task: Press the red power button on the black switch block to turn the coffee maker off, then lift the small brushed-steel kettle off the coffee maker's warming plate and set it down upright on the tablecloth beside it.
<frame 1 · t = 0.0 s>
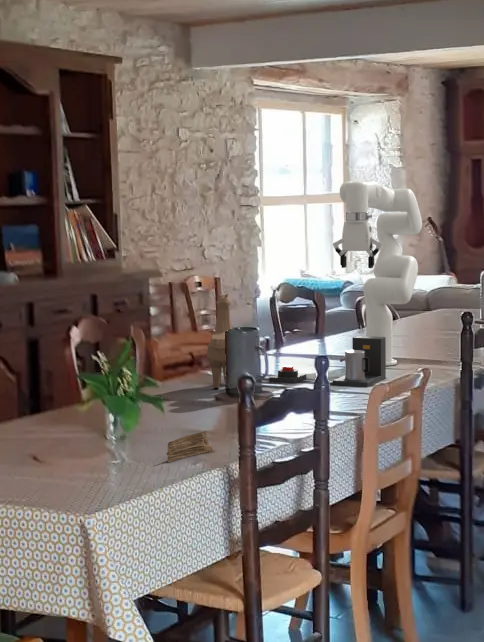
hand: (357, 267, 402), 37 cm above the table, tool pointing down, fingers open, 9 cm apart
toy: (223, 387, 384), on the table
switch block: (287, 380, 394), on the table
coffee maker: (358, 382, 388), on the table
kettle: (354, 378, 385), point 2 cm above the table, touching coffee maker
power button: (287, 368, 393), point 4 cm above the table, slide at 0.1 cm
wood plank: (189, 457, 284), on the table
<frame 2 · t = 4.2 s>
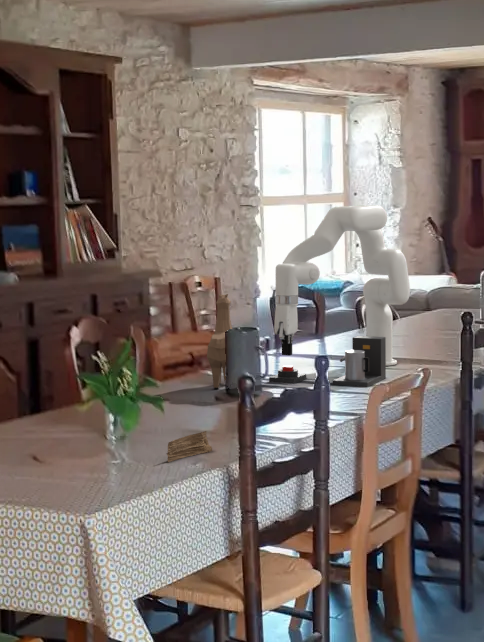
hand: (287, 354, 393), 9 cm above the table, tool pointing down, fingers closed
nothing on the table moved.
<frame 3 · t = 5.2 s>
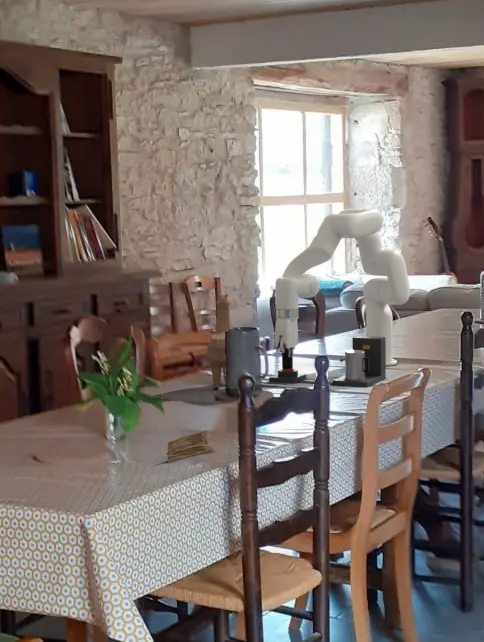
hand: (287, 368, 393), 4 cm above the table, tool pointing down, fingers closed
power button: (287, 370, 393), point 3 cm above the table, slide at -0.6 cm, touching gripper
everything else where it was.
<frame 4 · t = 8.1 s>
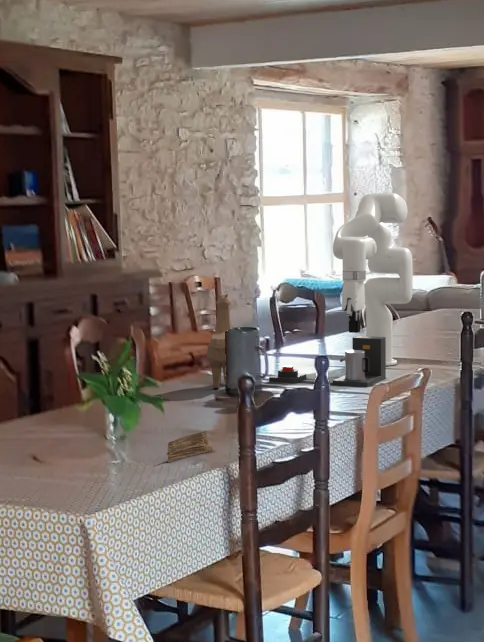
hand: (354, 332, 384), 17 cm above the table, tool pointing down, fingers closed
power button: (287, 368, 393), point 4 cm above the table, slide at 0.1 cm
everything else where it was.
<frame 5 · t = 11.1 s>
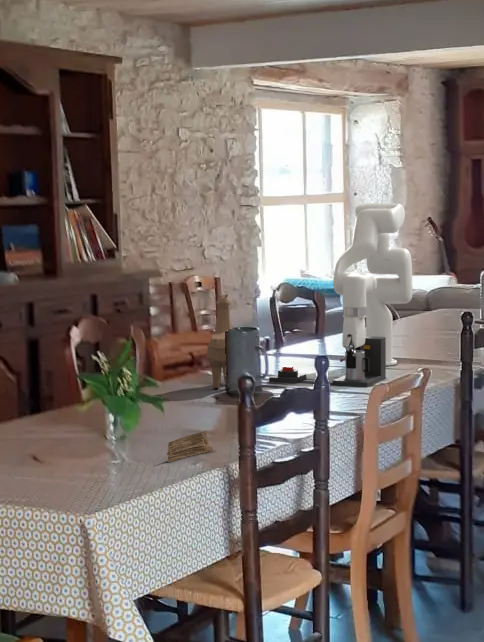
hand: (354, 366, 385), 6 cm above the table, tool pointing down, fingers closed on kettle, 6 cm apart
kettle: (354, 378, 385), point 2 cm above the table, touching coffee maker, gripper
everything else where it was.
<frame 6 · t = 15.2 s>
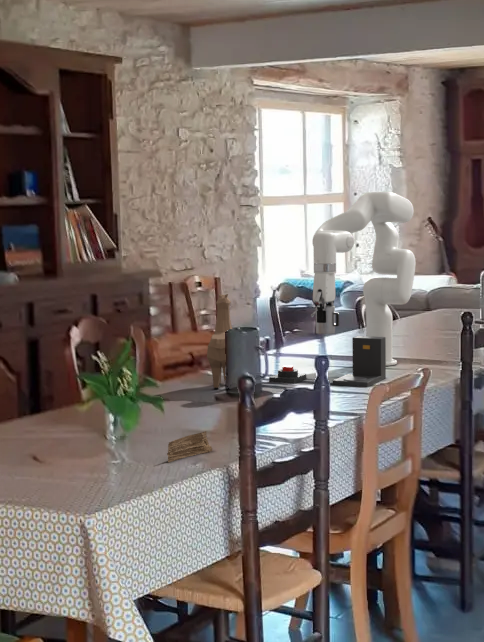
hand: (325, 321, 396), 19 cm above the table, tool pointing down, fingers closed on kettle, 6 cm apart
kettle: (325, 332, 396), point 15 cm above the table, touching gripper
everything else where it was.
when the fingers open (4 cm above the table, at t = 19.2 s): kettle stays where it is, on the table.
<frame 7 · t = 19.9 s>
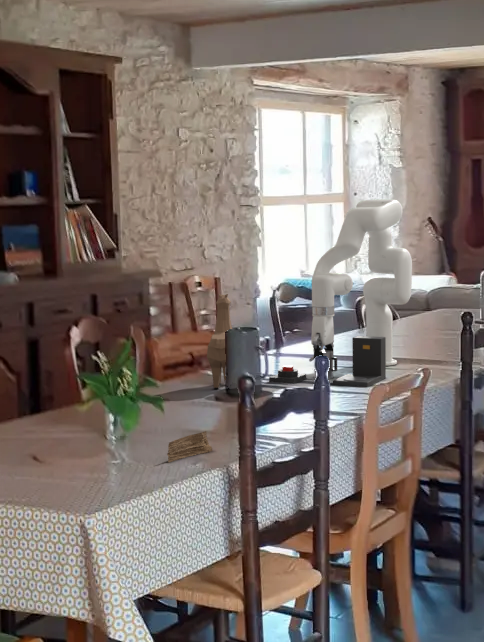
hand: (323, 361, 398), 5 cm above the table, tool pointing down, fingers open, 9 cm apart
kettle: (323, 377, 399), on the table
everything else where it was.
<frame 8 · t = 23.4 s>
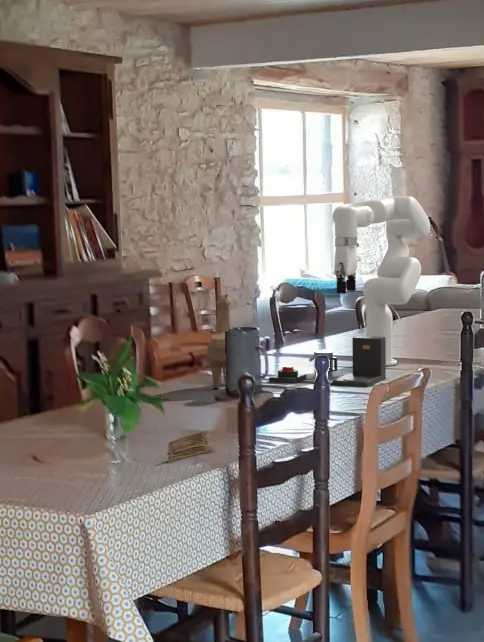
hand: (346, 292, 405), 28 cm above the table, tool pointing down, fingers open, 9 cm apart
nothing on the table moved.
at the end: power button pushed in 1.1 cm at the most during the clip and back out by the end; kettle inside the target area (0.0 cm from its centre), on the table; kettle tilted 0° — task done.
